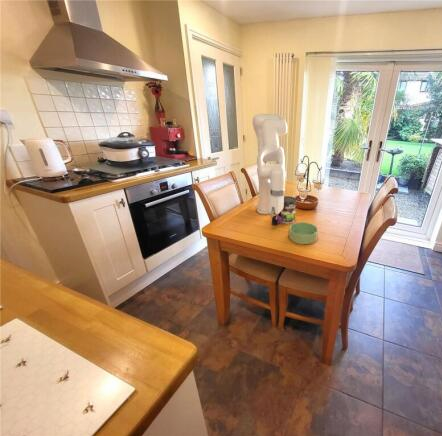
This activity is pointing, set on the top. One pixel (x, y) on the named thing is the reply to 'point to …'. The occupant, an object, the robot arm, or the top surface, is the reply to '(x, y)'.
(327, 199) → the top surface
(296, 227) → the bowl
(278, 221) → the ball
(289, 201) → the coffee can
